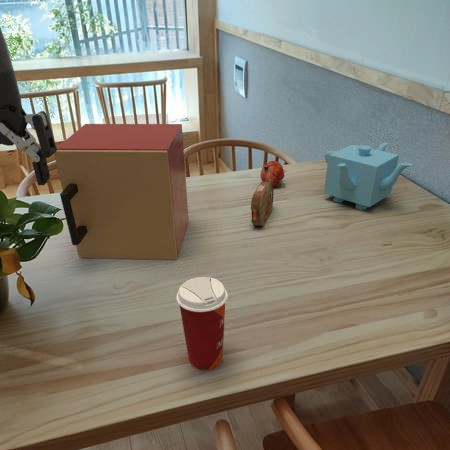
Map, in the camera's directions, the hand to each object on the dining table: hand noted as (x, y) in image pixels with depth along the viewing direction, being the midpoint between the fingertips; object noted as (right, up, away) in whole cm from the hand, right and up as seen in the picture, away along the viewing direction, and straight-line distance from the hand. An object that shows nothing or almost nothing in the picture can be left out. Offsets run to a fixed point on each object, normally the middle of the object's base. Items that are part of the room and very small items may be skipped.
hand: (16, 183), depth 70 cm
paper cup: (+29, -28, +5) cm, 41 cm away
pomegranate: (+47, +16, +65) cm, 82 cm away
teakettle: (+70, +9, +55) cm, 89 cm away
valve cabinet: (+11, -3, +39) cm, 41 cm away
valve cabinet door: (+10, -10, +29) cm, 33 cm away
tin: (+42, +3, +47) cm, 63 cm away
